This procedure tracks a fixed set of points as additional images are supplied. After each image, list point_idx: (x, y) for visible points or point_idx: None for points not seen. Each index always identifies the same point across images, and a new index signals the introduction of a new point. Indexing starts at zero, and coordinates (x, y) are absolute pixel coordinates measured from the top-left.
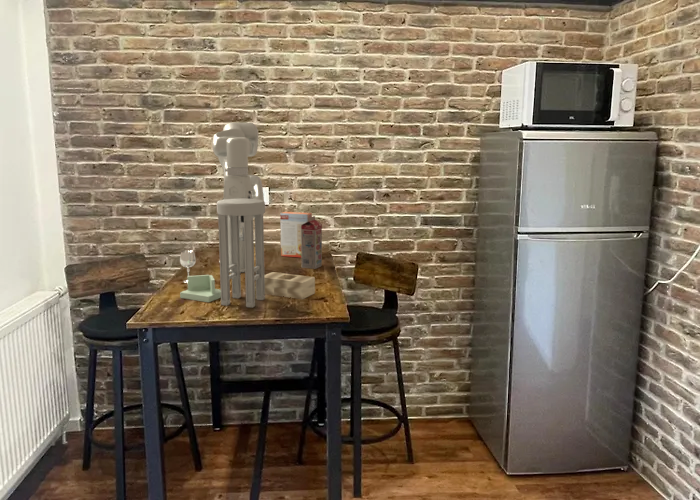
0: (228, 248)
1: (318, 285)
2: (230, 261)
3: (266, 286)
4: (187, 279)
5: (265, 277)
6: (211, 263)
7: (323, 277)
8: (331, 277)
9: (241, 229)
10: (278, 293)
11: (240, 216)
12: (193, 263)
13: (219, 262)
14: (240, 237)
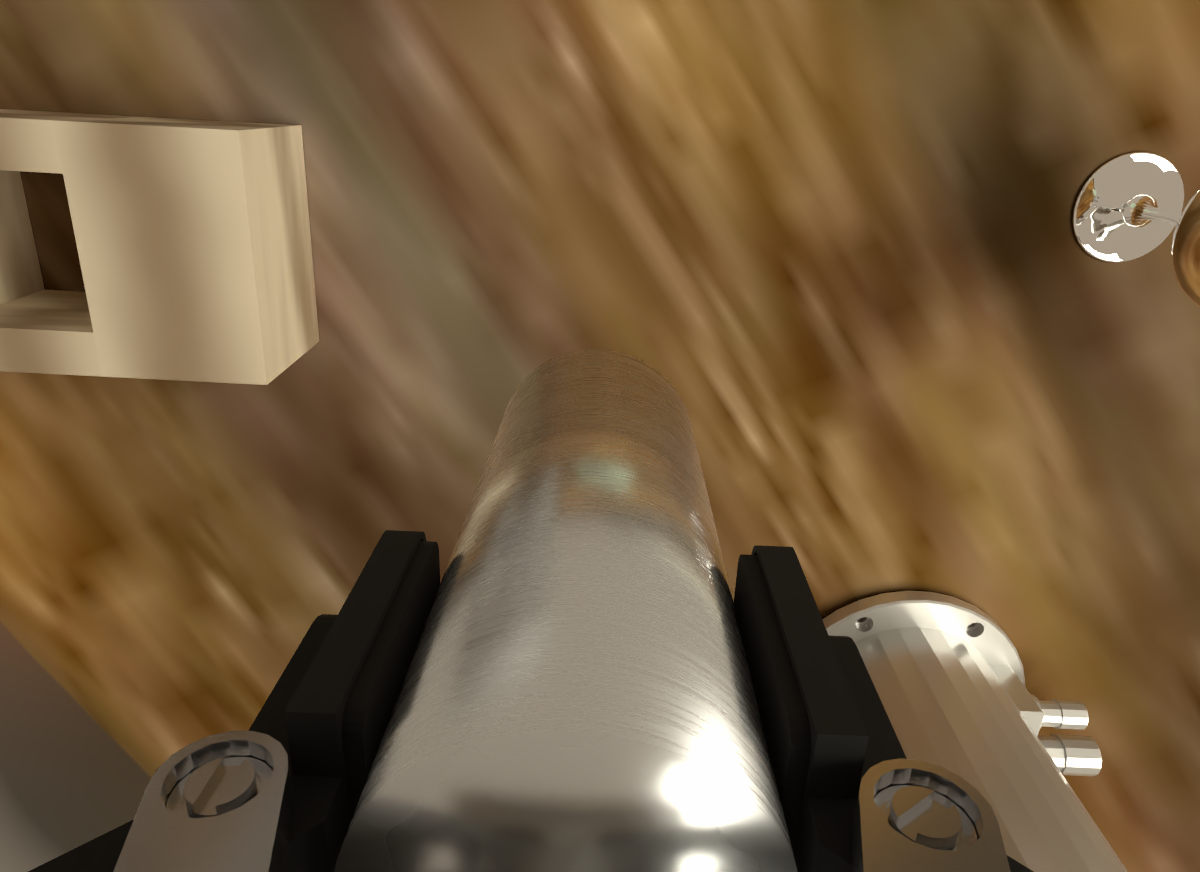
0: (1018, 763)
1: (55, 532)
2: (944, 671)
3: (192, 122)
4: (1148, 199)
5: (170, 141)
6: (1192, 774)
7: (177, 729)
8: (129, 748)
9: (486, 468)
10: (87, 114)
11: (435, 617)
12: (1179, 231)
13: (1078, 702)
14: (521, 393)
